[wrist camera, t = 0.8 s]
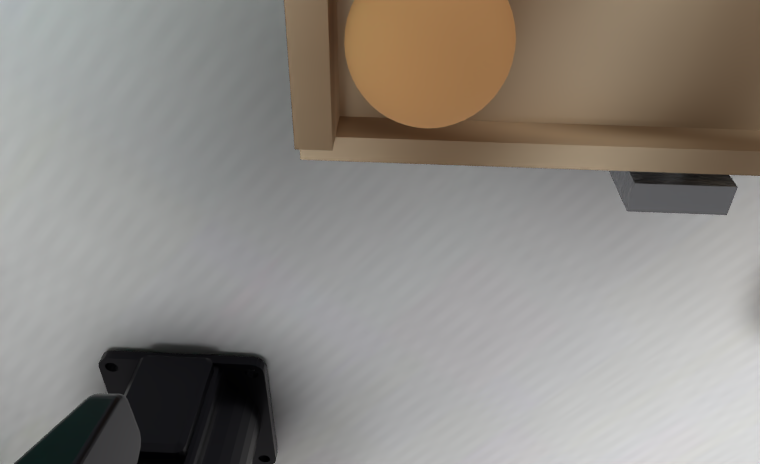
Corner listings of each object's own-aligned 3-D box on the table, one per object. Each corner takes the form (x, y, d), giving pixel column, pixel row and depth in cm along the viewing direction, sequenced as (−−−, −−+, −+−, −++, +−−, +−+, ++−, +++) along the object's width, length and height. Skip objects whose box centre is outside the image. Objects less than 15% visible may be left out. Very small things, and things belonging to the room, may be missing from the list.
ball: (496, 88, 15) (513, 161, 12) (352, 83, 15) (338, 155, 12) (515, -66, 13) (540, -18, 10) (350, -71, 13) (333, -24, 10)
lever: (324, 366, 22) (315, 433, 20) (297, -161, 13) (273, -142, 11) (901, 392, 21) (953, 463, 19) (1287, -141, 12) (1465, -116, 10)
